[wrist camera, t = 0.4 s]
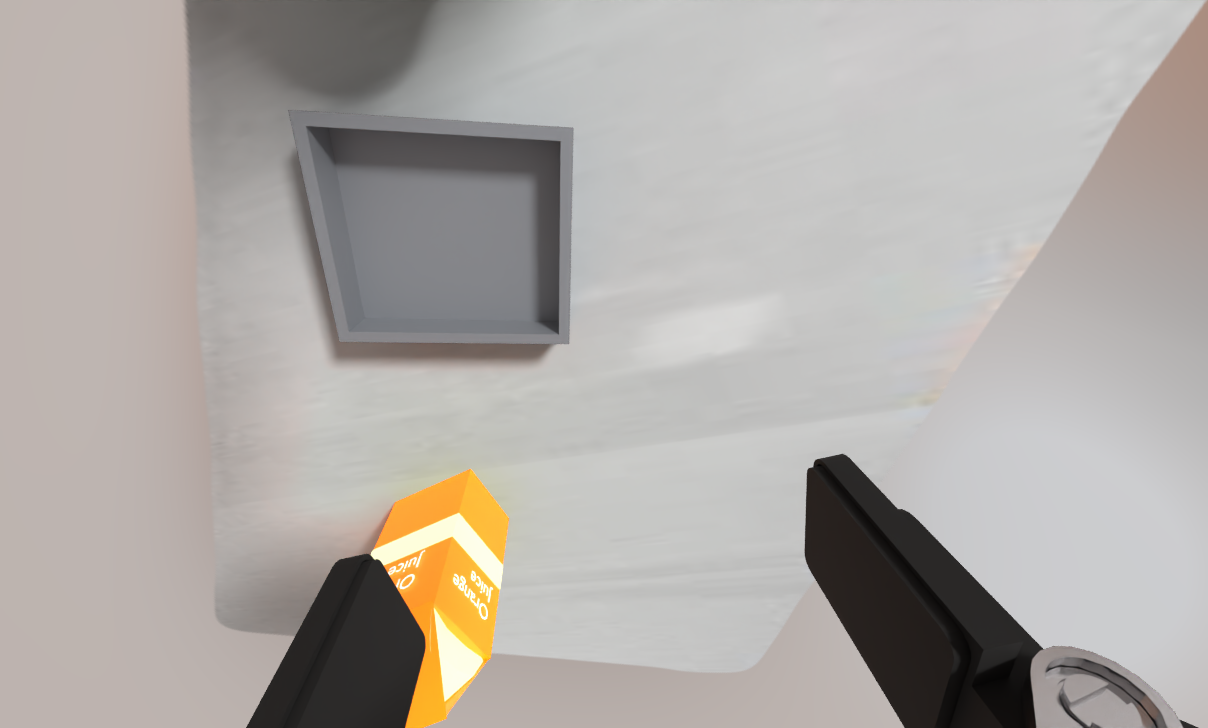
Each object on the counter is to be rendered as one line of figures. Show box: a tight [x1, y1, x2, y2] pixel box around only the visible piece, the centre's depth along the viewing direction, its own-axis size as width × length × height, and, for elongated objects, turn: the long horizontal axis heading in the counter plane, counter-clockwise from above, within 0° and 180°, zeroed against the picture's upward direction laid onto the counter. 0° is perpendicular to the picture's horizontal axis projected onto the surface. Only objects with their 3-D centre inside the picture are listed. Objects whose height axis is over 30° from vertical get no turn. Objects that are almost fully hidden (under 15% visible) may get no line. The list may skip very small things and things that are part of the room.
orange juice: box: [371, 469, 509, 728], centre depth 37 cm, size 8×9×20 cm
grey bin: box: [288, 110, 573, 344], centre depth 32 cm, size 15×17×4 cm
